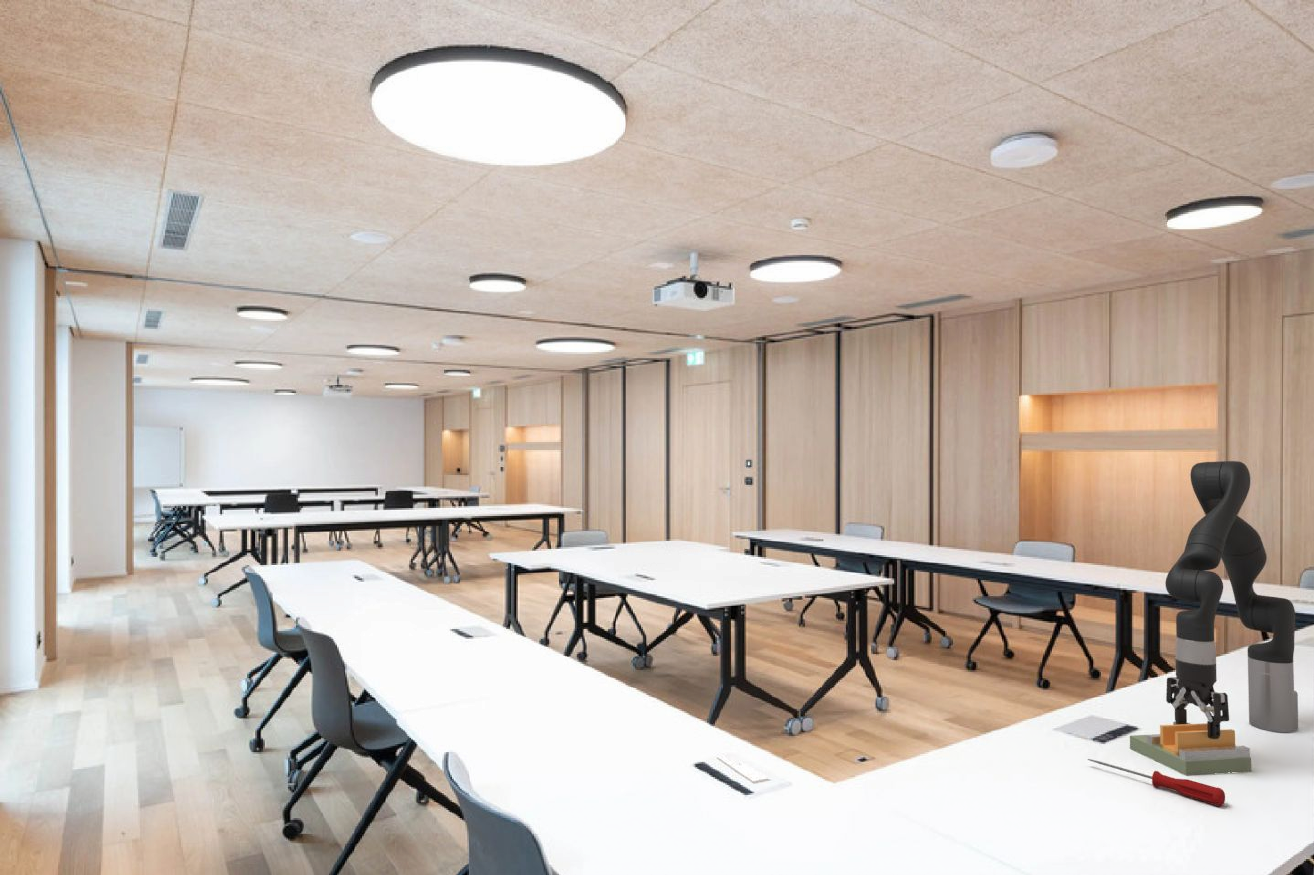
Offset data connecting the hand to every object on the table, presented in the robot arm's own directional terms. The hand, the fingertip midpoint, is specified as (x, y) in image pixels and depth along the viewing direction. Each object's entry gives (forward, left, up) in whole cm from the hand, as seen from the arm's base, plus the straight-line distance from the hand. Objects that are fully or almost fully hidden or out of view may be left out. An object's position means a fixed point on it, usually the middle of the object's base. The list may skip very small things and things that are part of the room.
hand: (1196, 731), depth 172 cm
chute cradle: (0, 0, -4) cm, 4 cm away
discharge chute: (0, 0, -4) cm, 4 cm away
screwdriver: (+19, +9, -7) cm, 23 cm away
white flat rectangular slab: (+102, -10, -8) cm, 102 cm away
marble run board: (0, -2, -7) cm, 8 cm away
